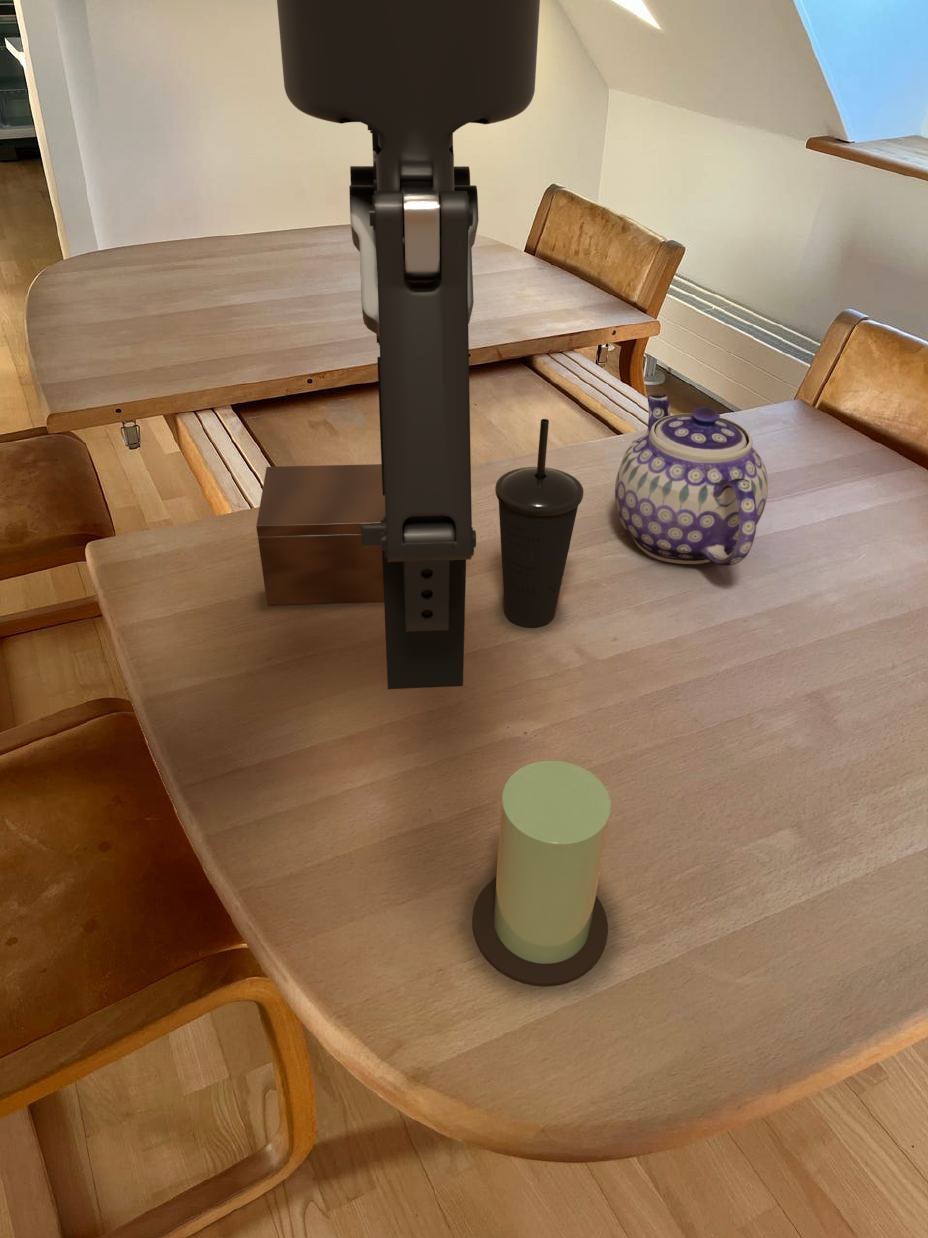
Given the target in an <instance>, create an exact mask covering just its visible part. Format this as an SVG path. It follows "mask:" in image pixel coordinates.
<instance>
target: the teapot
mask: <svg viewBox="0 0 928 1238" xmlns="http://www.w3.org/2000/svg"><path fill="white" fill-rule="evenodd" d="M647 406H648V420H647V421H648V422H647V431H646V434H644V435H642V436H639V437H638V438H636V439H634V440H633V441H632V442H631V444H630V445H629V447H628V448H627V449H626V451H625V453H624V455H623V457H622V460H621V462H620V465H619V468H618V471H617V473H616V478H615V484H614V486H615V487H614V496H615V497H614V499H615V501H614V502H615V508H616V513H617V515H618V518H619V521H620V523H621V526H622V527H623V529H624V530H625V531H626V532H627V533H628V535H629V536H631V538H632V539H633V542H634V543H635V544H636V546H637V547H638V548H639V549H640V550H641V551H642V552H644V553H645V554H646V555H648V556H649V557H651V558H654V559H656V560H658V561H662V562H666V563H667V562H668V563H673V564H682V565H700V564H705V563H706V564H707V563H713V564H715V565H717V566H722V567H723V566H725V567H729V566H734V565H737V564H739V563H741V562H743V560H744V559H746V557H747V556H748V554H749V553H750V552H751V549H752V547H753V544H754V540H755V537H756V531H757V525H758V524H759V521H760V520H761V518H762V516H763V513H764V510H765V506H766V503H767V499H768V492H769V480H768V474H767V473H768V472H767V467H766V466H765V463H764V460H763V459H762V457H761V456H760V455H759V453H758V451H757V450H756V449H755V448H754V447H753V445H754V443H753V437H752V436H751V433H750V432H748V430H747V429H746V428H744V427H743V426H742V425H740V424H739V423H736V422H735V421H732V420H731V419H728V418H724V417H721V415H720V413H718V412H717V411H716V410H715V409H714V408H712V407H709V406H700V407H697V408H695V409H693V410H692V412H691V413H676V414H675V413H674V414H672V411H671V403H670V398H669V397H668V395H666V394H648V395H647ZM728 552H730V553H729V554H728Z"/></svg>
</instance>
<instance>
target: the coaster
mask: <svg viewBox="0 0 928 1238" xmlns="http://www.w3.org/2000/svg"><path fill="white" fill-rule="evenodd" d="M496 877H497V876H495V877H494V878H492V879H491V881H489V882H488V883H487V884H486V885H485V886H484V887H483V888H482V890H481V892H480V893H479V895H478V897H477V898H476V901H475V903H474V906H473V911H472V919H471V921H472V933H473V937H474V941H475V943H476V945H477V947H478V949H479V951H480V953H481V954H482V956H483V957H484V958H485V959H486V961H487V962H488V963H489V965H491V966H492V967H493V968H494V969H496V970H497V971H498V972H499V973H500V974H502V975H504V976H506V977H507V978H509V979H512V980H514V981H516V982H519V983H521V984H526V985H529V986H535V987H536V986H537V987H553V986H560V985H565V984H568V983H571V982H573V981H575V980H578V979H579V978H581V977H583V976H584V975H586V974H587V973H588V972H589V971H591V970H592V969H593V968H594V967H595V966H596V965H597V963H598V962H599V961H600V959H601V957H602V955H603V953H604V951H605V948H606V945H607V941H608V935H609V923H608V917H607V913H606V911H605V908H604V905H603V904H602V902H601V900H600V898H599V897H598V895H596V898H595V904H594V909H593V915H592V921H591V926H590V932H589V936H588V939H587V941H586V943H585V944H584V946H583V947H582V948H581V949H580V950H579V952H577V953H576V954H575V955H574V956H572V957H570V958H568V959H566V960H564V961H561V962H557V963H551V964H541V963H534V962H530V961H527V960H524V959H522V958H520V957H518V956H517V955H515V954H514V953H512V952H511V951H510V950H509V949H507V947H506V946H505V945H504V944H503V943H502V941H501V940H500V938H499V936H498V935H497V932H496V929H495V925H494V908H495V892H496Z"/></svg>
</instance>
